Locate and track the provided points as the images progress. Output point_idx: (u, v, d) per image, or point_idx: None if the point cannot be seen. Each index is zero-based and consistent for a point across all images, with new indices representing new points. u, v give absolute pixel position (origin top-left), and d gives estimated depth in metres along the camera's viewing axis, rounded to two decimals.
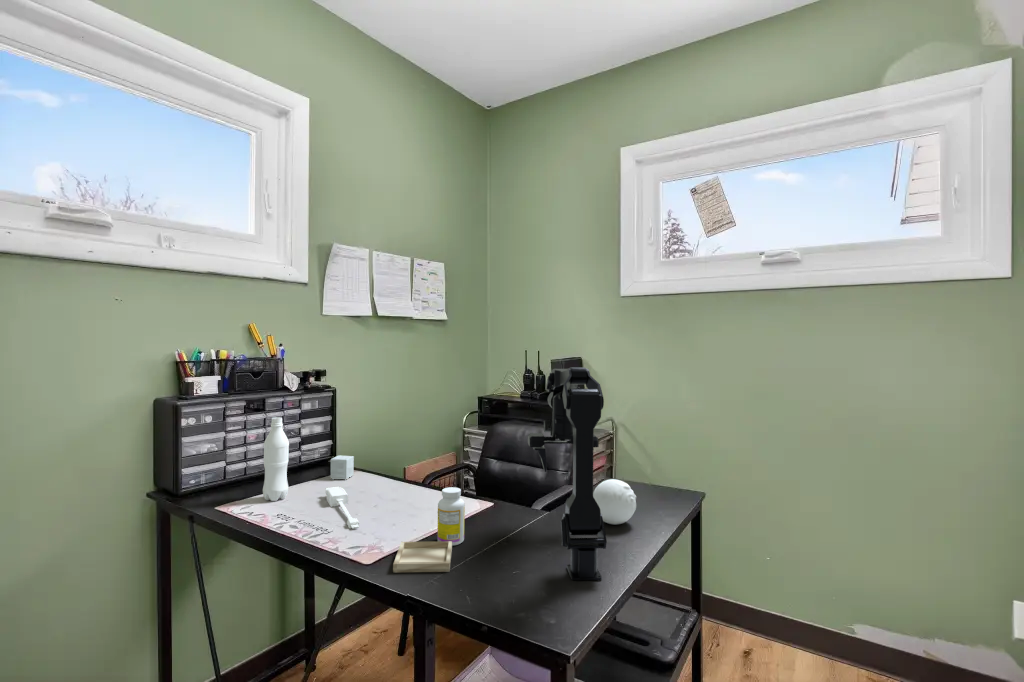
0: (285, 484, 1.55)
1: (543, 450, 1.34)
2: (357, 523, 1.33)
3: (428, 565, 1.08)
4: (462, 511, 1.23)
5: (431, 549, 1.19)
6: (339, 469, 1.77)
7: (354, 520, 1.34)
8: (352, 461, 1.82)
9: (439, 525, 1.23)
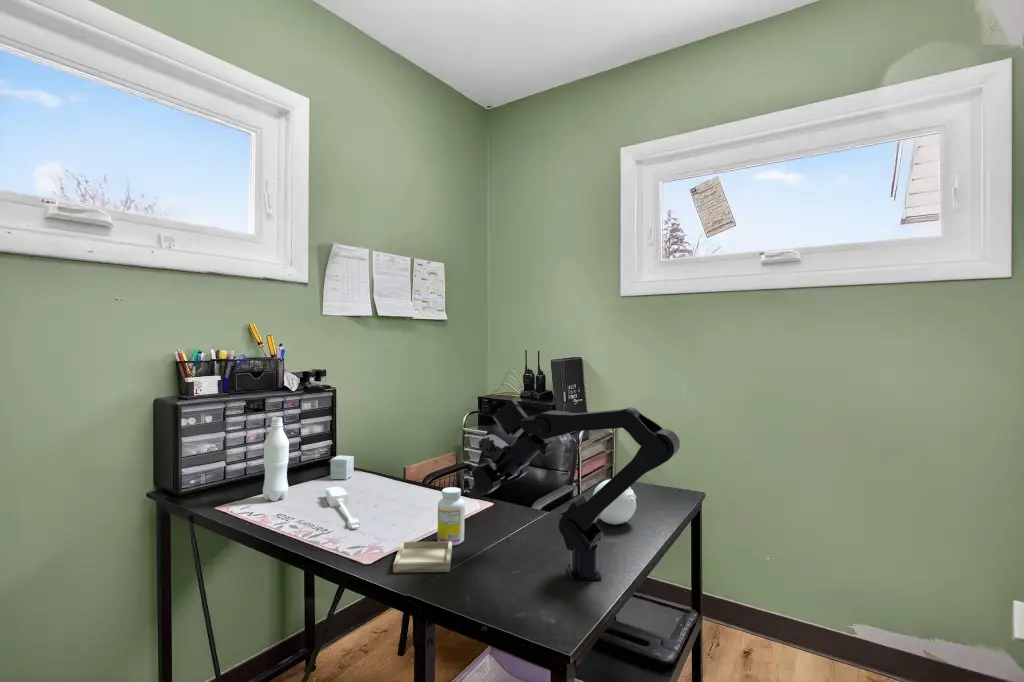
0: (285, 484, 1.55)
1: None
2: (357, 523, 1.33)
3: (428, 565, 1.08)
4: (462, 511, 1.23)
5: (431, 549, 1.19)
6: (339, 469, 1.77)
7: (354, 520, 1.34)
8: (352, 461, 1.82)
9: (439, 525, 1.23)
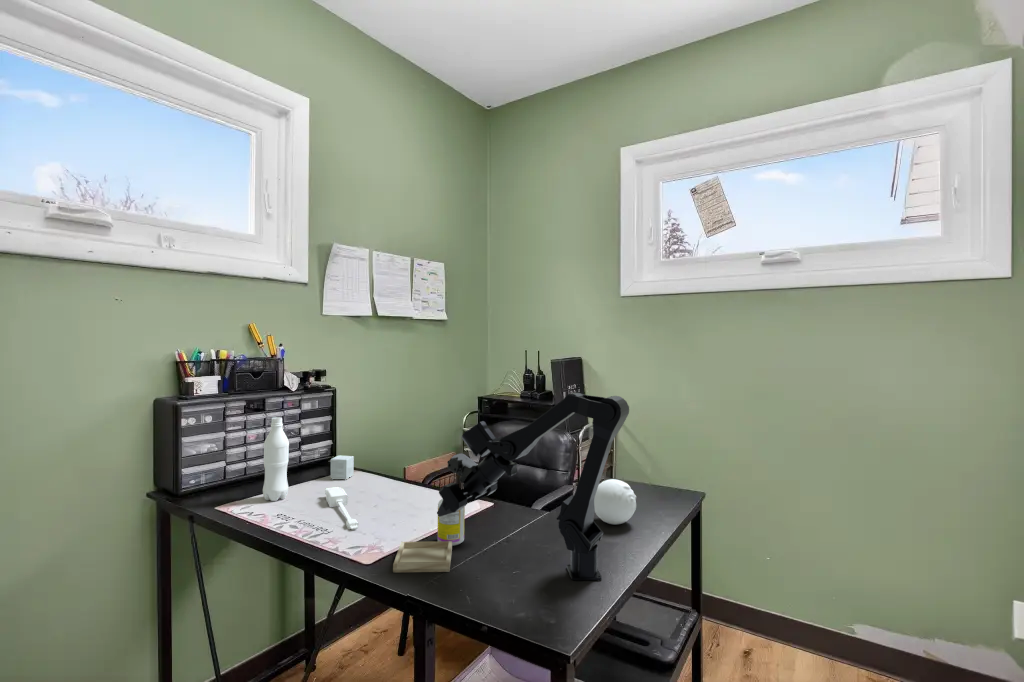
0: (285, 484, 1.55)
1: None
2: (356, 524, 1.33)
3: (428, 565, 1.08)
4: (462, 511, 1.23)
5: (431, 549, 1.19)
6: (339, 469, 1.77)
7: (353, 521, 1.34)
8: (352, 461, 1.82)
9: (439, 525, 1.23)
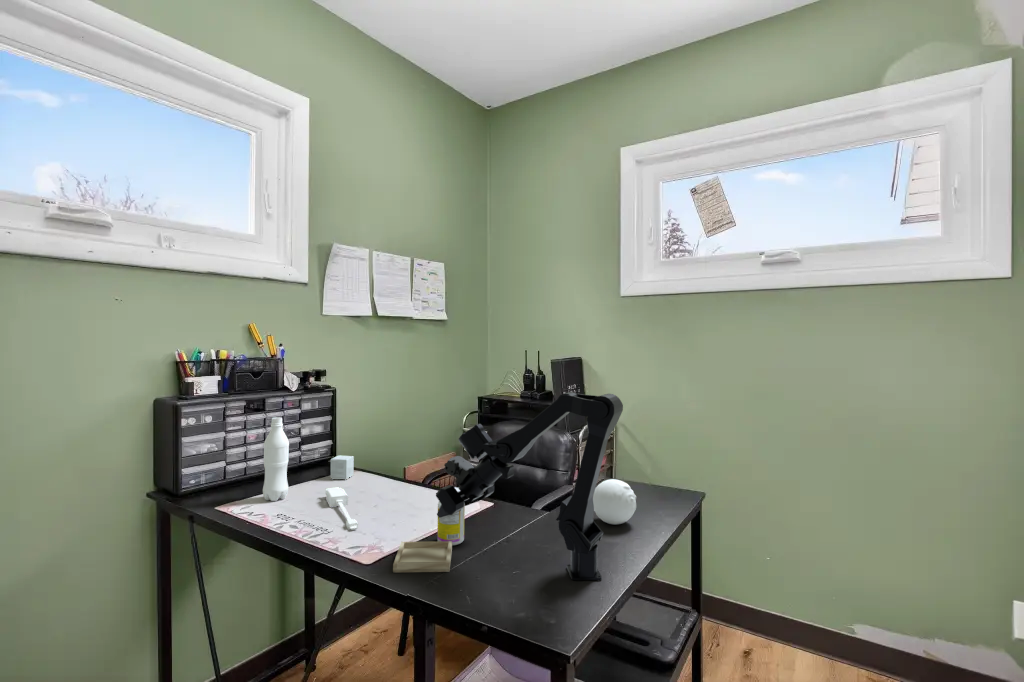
0: (285, 484, 1.55)
1: (458, 511, 1.19)
2: (356, 524, 1.32)
3: (428, 565, 1.08)
4: (462, 511, 1.23)
5: (431, 549, 1.19)
6: (339, 469, 1.77)
7: (353, 521, 1.33)
8: (352, 461, 1.82)
9: (439, 525, 1.23)
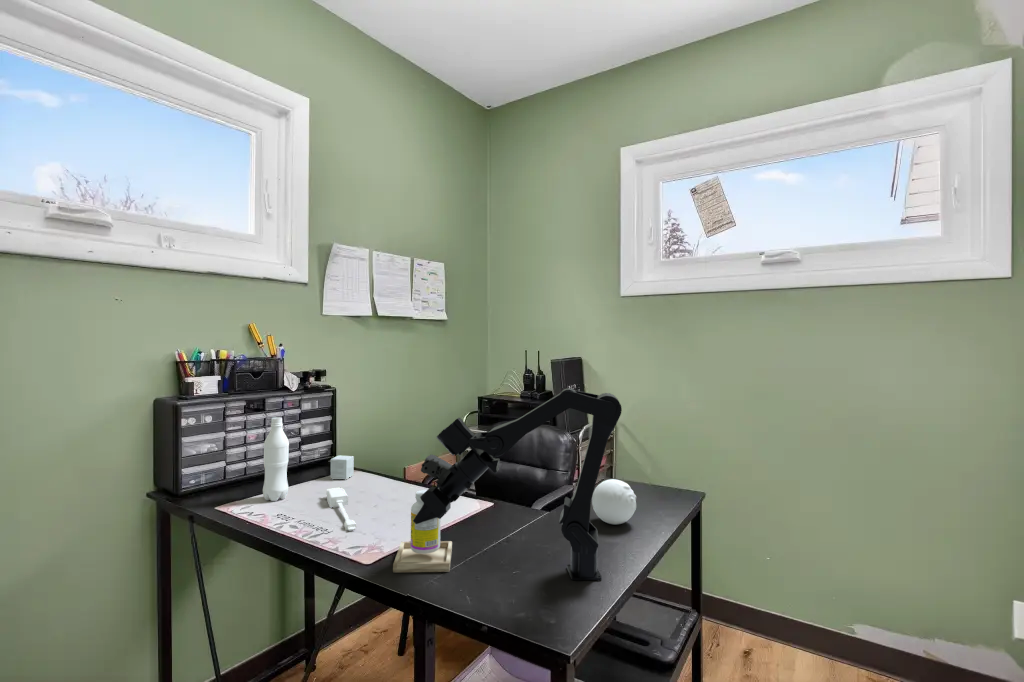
0: (285, 484, 1.55)
1: None
2: (354, 525, 1.32)
3: (428, 565, 1.08)
4: None
5: None
6: (339, 469, 1.77)
7: (351, 522, 1.33)
8: (352, 461, 1.82)
9: (415, 532, 1.11)
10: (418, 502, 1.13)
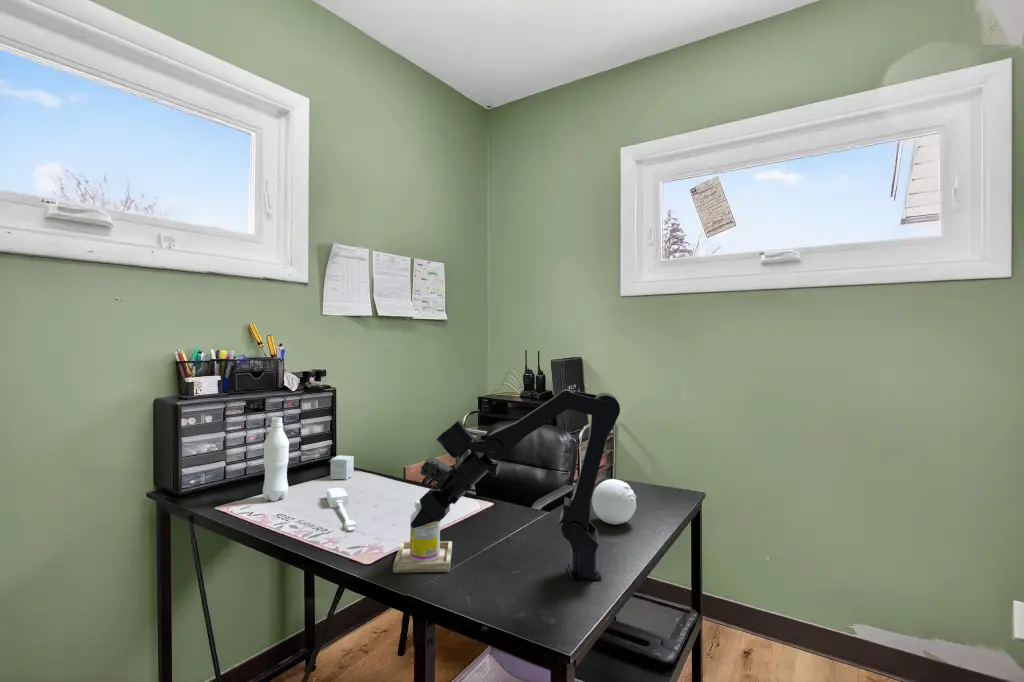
0: (285, 484, 1.55)
1: None
2: (354, 525, 1.32)
3: (428, 565, 1.08)
4: (439, 523, 1.13)
5: None
6: (339, 469, 1.77)
7: (351, 522, 1.33)
8: (352, 461, 1.82)
9: (414, 541, 1.11)
10: (417, 511, 1.12)
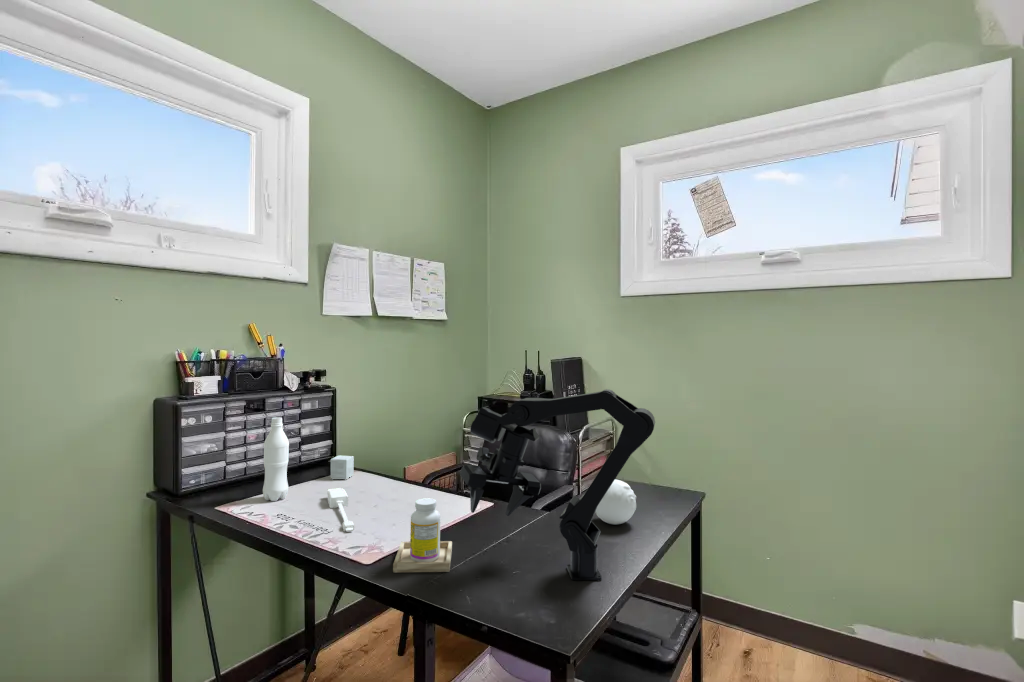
0: (285, 484, 1.55)
1: (481, 491, 1.10)
2: (352, 526, 1.31)
3: (428, 565, 1.08)
4: (439, 523, 1.13)
5: None
6: (339, 469, 1.77)
7: (349, 523, 1.32)
8: (352, 461, 1.82)
9: (414, 541, 1.11)
10: (418, 511, 1.12)
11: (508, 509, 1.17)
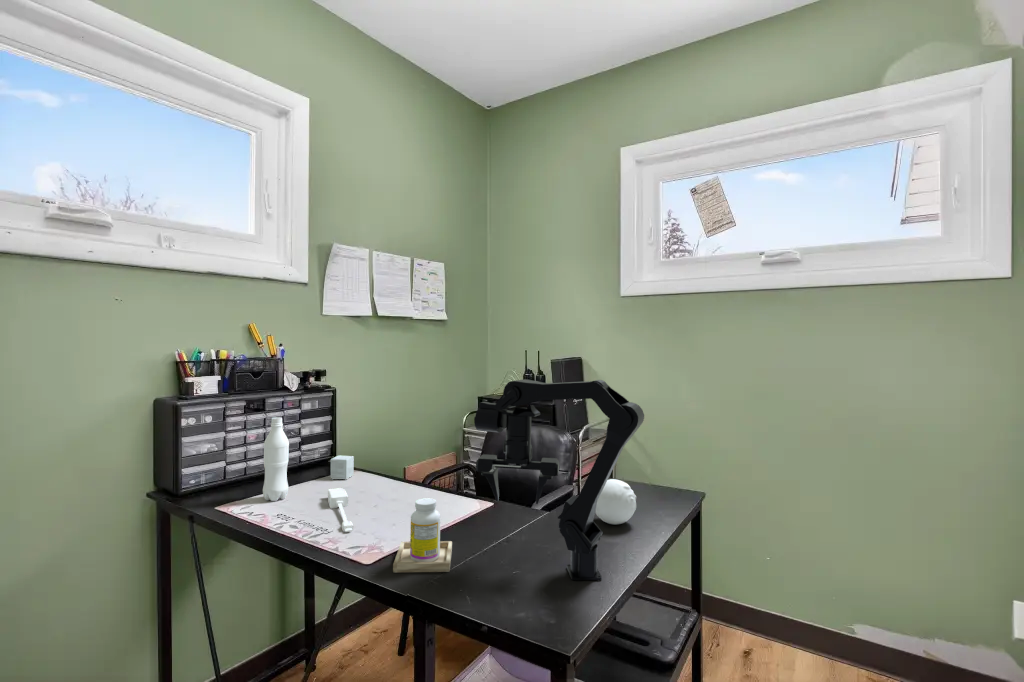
0: (285, 484, 1.55)
1: (491, 476, 1.14)
2: (351, 526, 1.31)
3: (428, 565, 1.08)
4: (439, 523, 1.13)
5: None
6: (339, 469, 1.77)
7: (348, 523, 1.32)
8: (352, 461, 1.82)
9: (414, 541, 1.11)
10: (418, 511, 1.12)
11: None
